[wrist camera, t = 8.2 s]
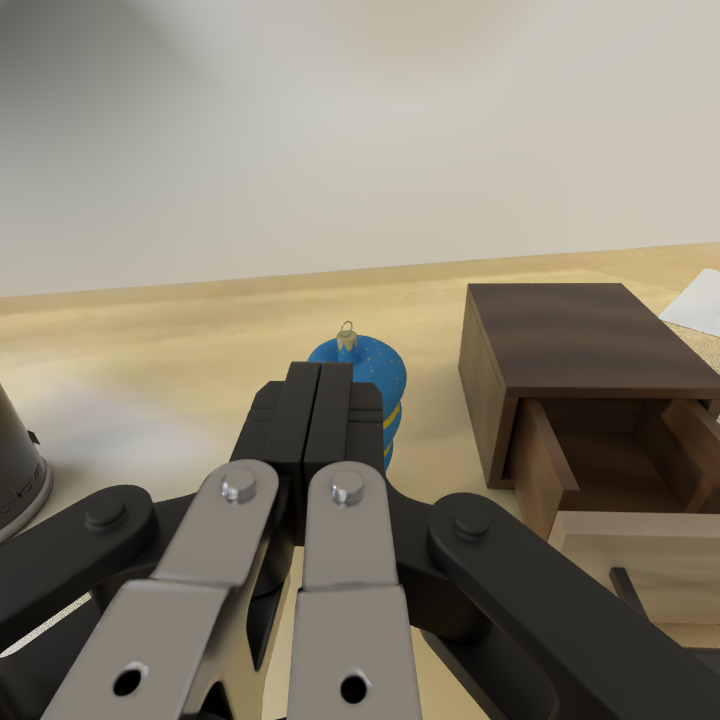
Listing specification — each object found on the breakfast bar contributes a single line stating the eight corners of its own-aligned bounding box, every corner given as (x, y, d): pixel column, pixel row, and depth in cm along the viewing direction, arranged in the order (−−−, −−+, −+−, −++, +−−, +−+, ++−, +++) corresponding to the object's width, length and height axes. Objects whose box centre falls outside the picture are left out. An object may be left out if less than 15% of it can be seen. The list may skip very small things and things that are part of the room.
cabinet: (678, 492, 31) (734, 388, 26) (486, 488, 31) (506, 385, 27) (594, 369, 43) (621, 282, 38) (457, 368, 44) (467, 283, 39)
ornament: (415, 524, 29) (430, 314, 21) (366, 586, 26) (360, 364, 17) (352, 486, 32) (343, 287, 24) (300, 538, 28) (268, 326, 20)
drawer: (858, 748, 18) (979, 669, 15) (567, 735, 19) (613, 655, 15) (643, 437, 34) (676, 359, 30) (485, 435, 34) (498, 358, 31)
